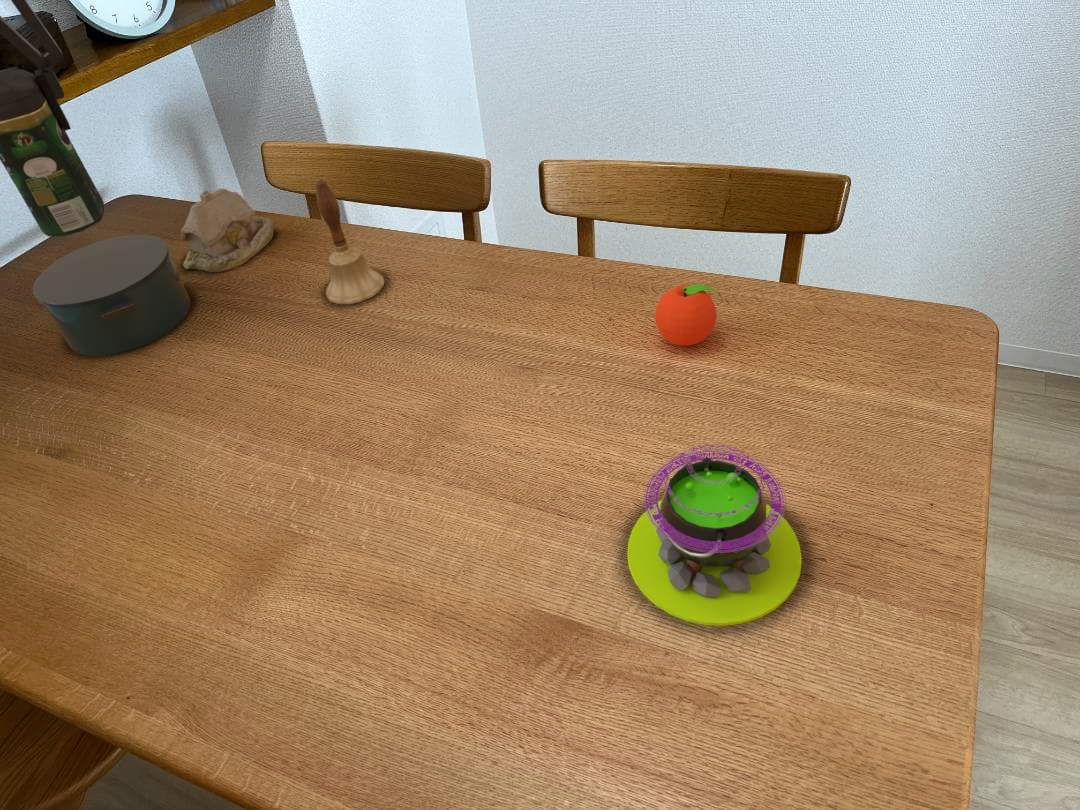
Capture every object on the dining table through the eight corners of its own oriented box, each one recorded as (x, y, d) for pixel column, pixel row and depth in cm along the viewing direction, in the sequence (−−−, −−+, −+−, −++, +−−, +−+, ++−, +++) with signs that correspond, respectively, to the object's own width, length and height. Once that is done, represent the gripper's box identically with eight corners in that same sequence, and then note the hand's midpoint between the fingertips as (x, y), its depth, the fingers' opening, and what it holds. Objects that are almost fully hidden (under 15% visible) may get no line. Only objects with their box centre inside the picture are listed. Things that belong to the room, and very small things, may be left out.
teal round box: (73, 380, 105) (38, 326, 99) (59, 311, 119) (28, 260, 113) (206, 328, 110) (180, 274, 105) (178, 268, 125) (154, 218, 119)
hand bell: (314, 296, 113) (275, 191, 103) (355, 267, 118) (322, 164, 107) (355, 310, 109) (319, 202, 98) (396, 279, 113) (366, 173, 103)
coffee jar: (45, 215, 107) (-38, 73, 95) (107, 198, 109) (33, 56, 97) (41, 246, 100) (-49, 96, 88) (107, 227, 102) (27, 78, 90)
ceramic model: (218, 280, 120) (191, 219, 114) (172, 265, 125) (143, 207, 119) (287, 235, 128) (265, 176, 122) (241, 223, 134) (218, 166, 127)
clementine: (707, 314, 98) (707, 263, 93) (735, 344, 93) (737, 292, 88) (646, 332, 97) (643, 282, 92) (671, 364, 92) (670, 312, 87)
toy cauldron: (623, 495, 78) (615, 409, 70) (783, 484, 76) (791, 395, 69) (631, 630, 66) (623, 544, 59) (819, 621, 65) (834, 532, 57)
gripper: (-213, -49, 77) (-67, 175, 91) (19, -97, 83) (121, 120, 98) (-202, -58, 82) (-65, 155, 97) (15, -103, 88) (113, 104, 103)
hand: (28, 137), depth 97 cm, fingers closed on coffee jar, 8 cm apart
